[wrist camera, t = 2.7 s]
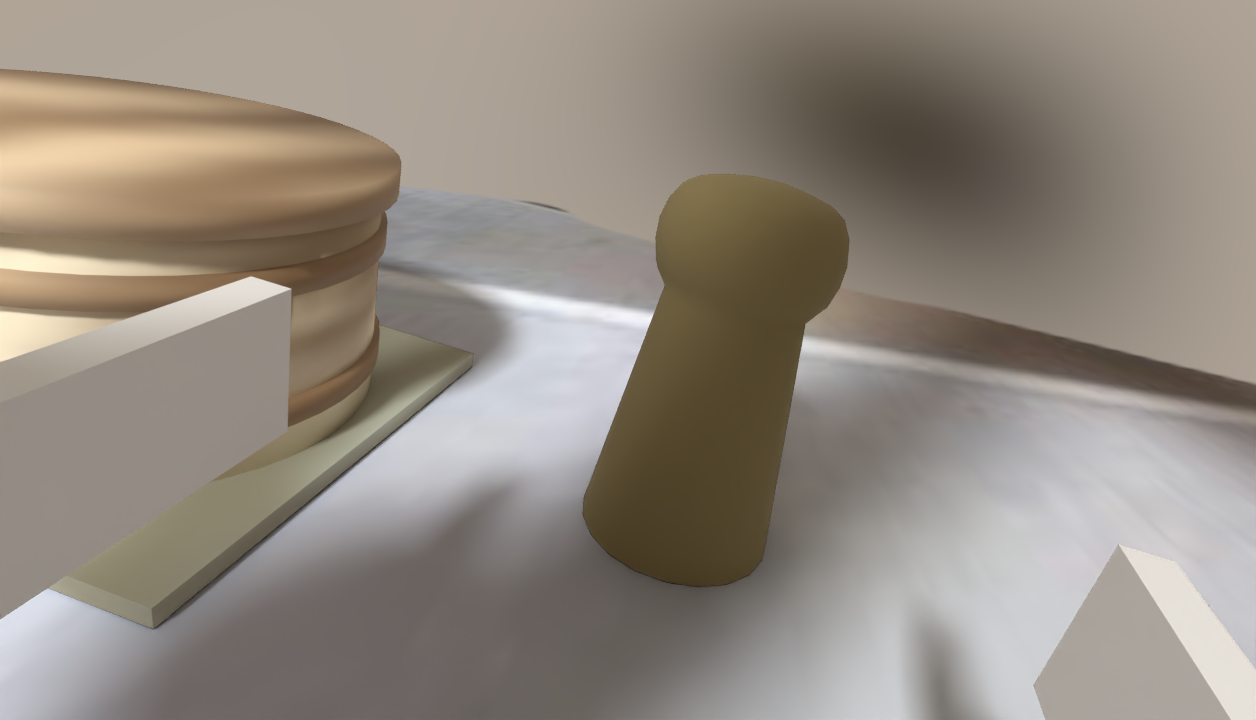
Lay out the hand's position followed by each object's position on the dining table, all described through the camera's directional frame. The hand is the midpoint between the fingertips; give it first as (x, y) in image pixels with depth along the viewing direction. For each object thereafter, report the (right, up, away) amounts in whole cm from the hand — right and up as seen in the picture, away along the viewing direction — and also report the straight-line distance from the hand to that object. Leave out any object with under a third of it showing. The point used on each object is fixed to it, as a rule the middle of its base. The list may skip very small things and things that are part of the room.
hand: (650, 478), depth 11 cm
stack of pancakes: (-16, +1, +13) cm, 21 cm away
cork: (+1, -4, +12) cm, 13 cm away
